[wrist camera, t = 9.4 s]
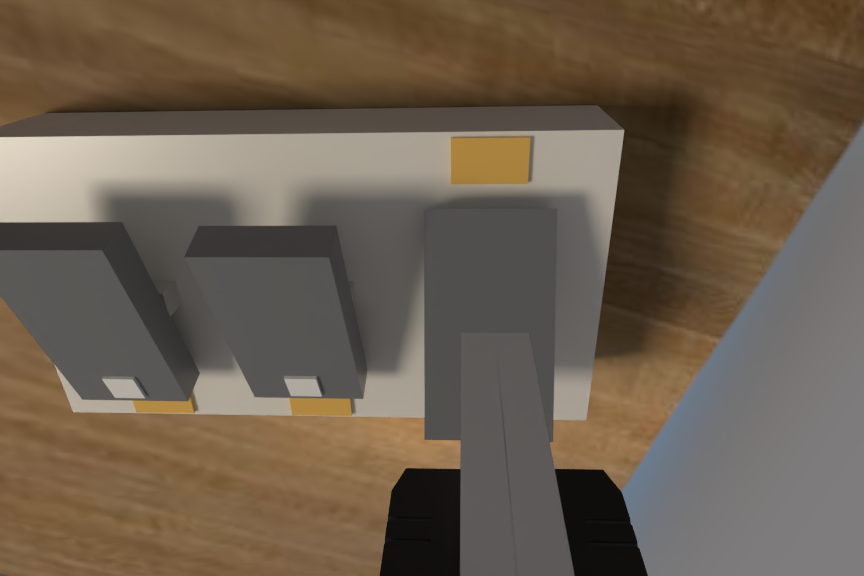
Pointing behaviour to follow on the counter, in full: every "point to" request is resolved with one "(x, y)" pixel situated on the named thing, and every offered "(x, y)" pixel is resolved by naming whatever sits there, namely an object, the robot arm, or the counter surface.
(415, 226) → the switch unit
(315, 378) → the block
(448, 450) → the counter surface
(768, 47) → the counter surface
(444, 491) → the robot arm
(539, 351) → the block
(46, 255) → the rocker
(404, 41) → the counter surface
